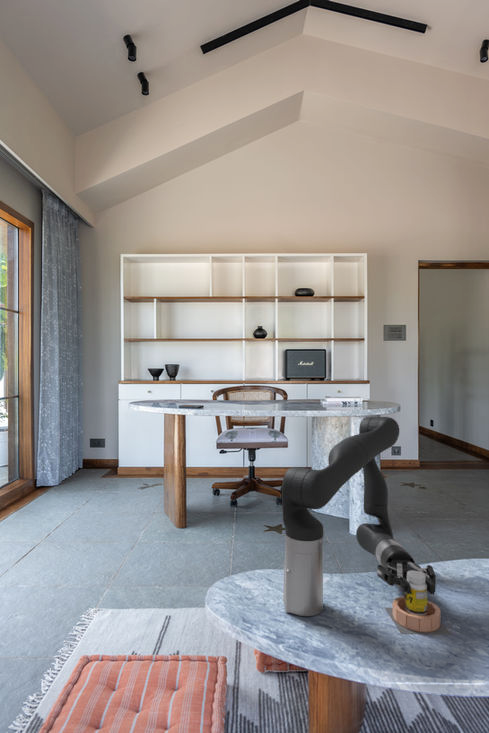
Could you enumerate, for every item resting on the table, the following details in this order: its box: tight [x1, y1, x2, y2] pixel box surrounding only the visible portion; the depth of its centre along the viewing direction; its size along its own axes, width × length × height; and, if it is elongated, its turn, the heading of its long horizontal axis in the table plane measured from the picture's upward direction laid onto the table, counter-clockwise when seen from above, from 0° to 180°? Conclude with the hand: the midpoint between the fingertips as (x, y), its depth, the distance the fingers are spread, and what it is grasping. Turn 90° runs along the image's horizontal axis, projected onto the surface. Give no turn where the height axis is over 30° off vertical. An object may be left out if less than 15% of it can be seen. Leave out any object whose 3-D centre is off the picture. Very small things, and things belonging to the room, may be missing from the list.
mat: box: [384, 607, 452, 635], centre depth 99 cm, size 11×11×1 cm
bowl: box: [391, 595, 442, 633], centre depth 100 cm, size 10×10×3 cm
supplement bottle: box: [404, 570, 428, 616], centre depth 100 cm, size 5×5×8 cm
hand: (420, 589), depth 97 cm, fingers closed on supplement bottle, 4 cm apart
